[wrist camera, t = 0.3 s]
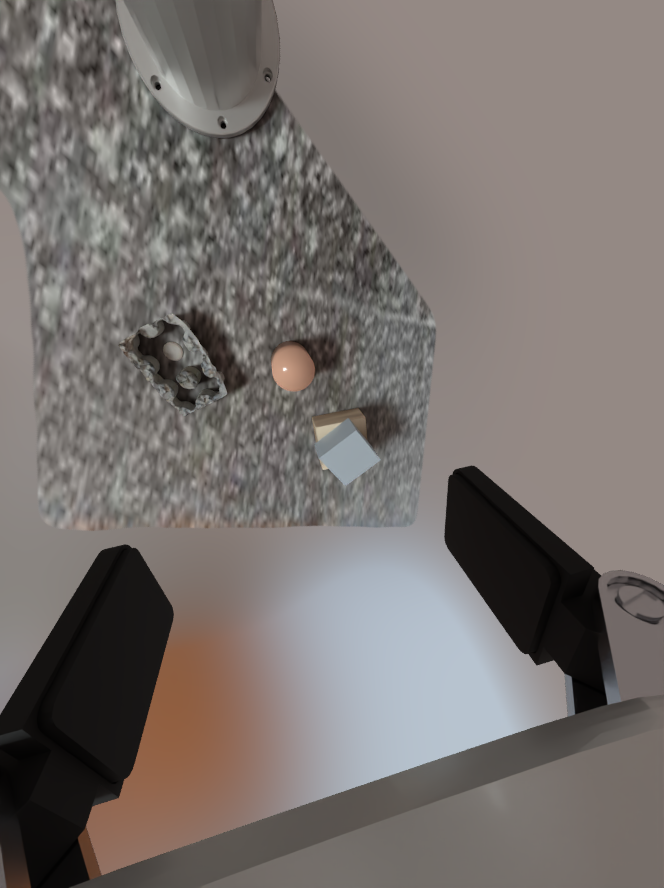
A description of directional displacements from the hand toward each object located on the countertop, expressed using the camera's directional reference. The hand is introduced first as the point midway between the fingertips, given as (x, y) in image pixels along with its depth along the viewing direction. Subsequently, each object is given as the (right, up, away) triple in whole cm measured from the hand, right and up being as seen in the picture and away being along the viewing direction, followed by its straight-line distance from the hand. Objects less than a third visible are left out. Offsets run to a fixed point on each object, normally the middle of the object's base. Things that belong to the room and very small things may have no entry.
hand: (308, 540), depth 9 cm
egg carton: (-18, +13, +29) cm, 36 cm away
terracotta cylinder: (-5, +14, +31) cm, 34 cm away
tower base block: (+2, +5, +38) cm, 38 cm away
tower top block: (+2, +3, +34) cm, 35 cm away
